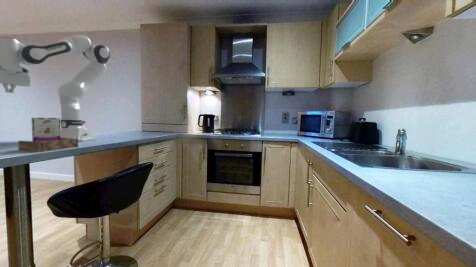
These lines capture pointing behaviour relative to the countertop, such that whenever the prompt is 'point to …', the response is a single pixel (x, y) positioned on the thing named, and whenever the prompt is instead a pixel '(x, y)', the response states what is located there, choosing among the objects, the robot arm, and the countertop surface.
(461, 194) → the countertop surface
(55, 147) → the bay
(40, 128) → the candy bar box
